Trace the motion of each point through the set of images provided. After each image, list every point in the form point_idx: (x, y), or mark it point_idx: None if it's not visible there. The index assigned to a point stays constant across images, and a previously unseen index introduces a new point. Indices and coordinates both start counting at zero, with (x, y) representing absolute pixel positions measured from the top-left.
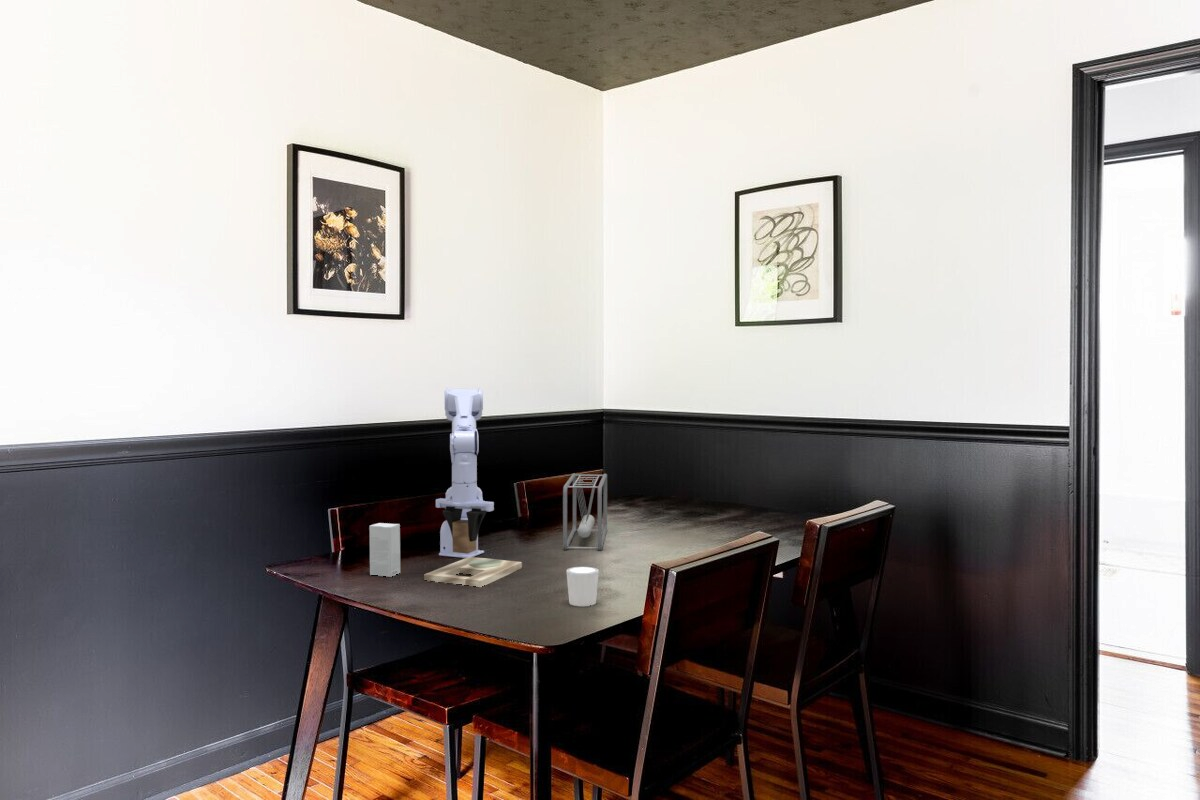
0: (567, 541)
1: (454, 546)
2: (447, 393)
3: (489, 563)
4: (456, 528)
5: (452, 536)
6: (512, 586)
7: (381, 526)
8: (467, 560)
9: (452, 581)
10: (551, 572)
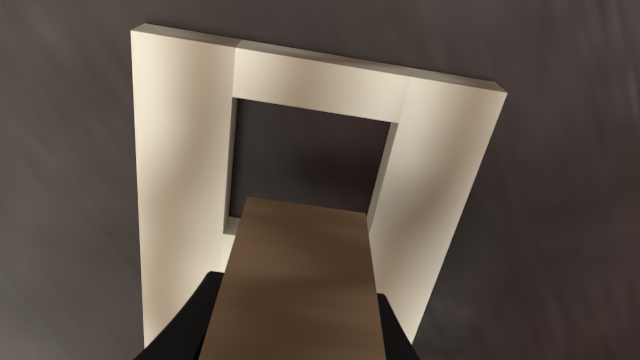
0: None
1: (353, 235)
2: None
3: None
4: (339, 343)
5: (387, 307)
6: (7, 83)
7: None
8: None
9: (322, 56)
10: (10, 321)
